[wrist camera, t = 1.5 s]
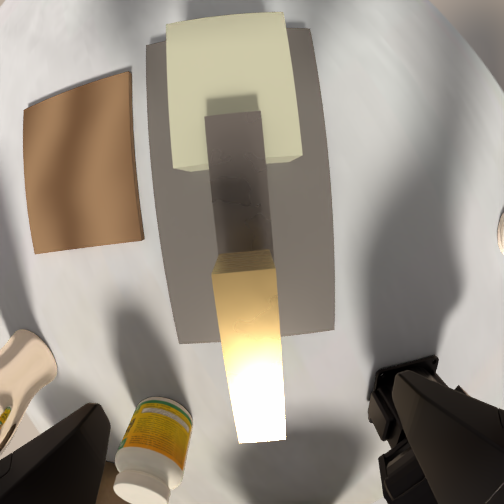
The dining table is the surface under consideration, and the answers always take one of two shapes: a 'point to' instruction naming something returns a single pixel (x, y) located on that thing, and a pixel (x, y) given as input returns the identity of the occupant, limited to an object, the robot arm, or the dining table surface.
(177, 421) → the supplement bottle
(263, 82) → the cover
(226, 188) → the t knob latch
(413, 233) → the dining table surface
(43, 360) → the silver metal tumbler
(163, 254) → the base
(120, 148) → the walnut mat
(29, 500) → the robot arm
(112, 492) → the pillar candle
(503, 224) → the chess piece
